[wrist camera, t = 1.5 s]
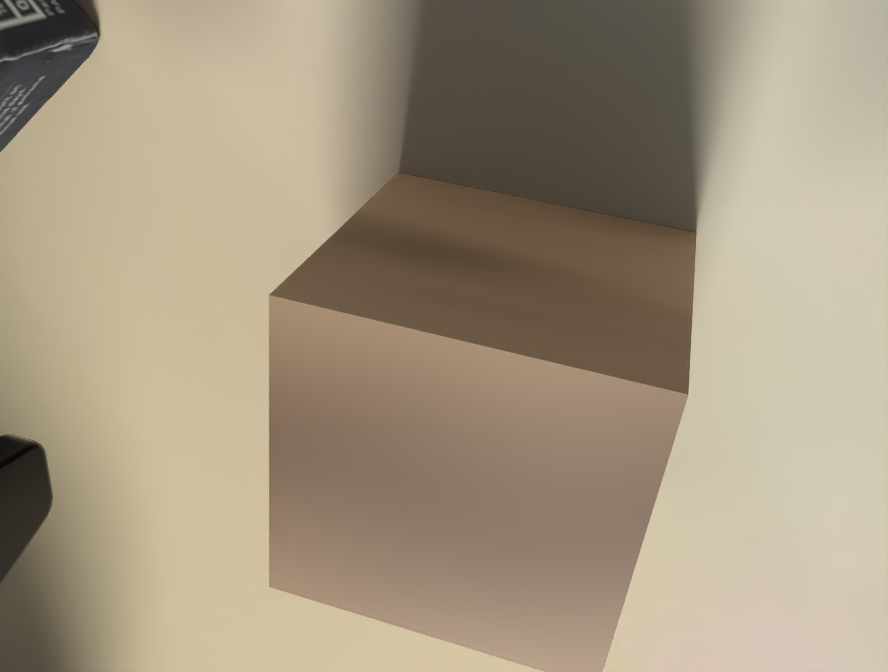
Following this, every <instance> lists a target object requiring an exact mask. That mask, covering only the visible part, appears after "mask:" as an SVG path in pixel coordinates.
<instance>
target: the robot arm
mask: <svg viewBox="0 0 888 672" xmlns="http://www.w3.org/2000/svg"><path fill="white" fill-rule="evenodd" d="M52 499H53V493H52V487H51V481H50V475H49V469H48V463H47V458H46V453H45V449H44V448H43V446H42V445H41V444H40V443H38V442H37V441H33V440H30V439H26V438H23V437H19V436H16V435H2V436H0V586H1V584H2V583H3V581H4V580H5V578H6V577H7V575H8V574H9V572H10V571H11V569H12V568H13V566H14V565H15V563H16V562H17V560H18V559H19V557H20V556H21V554H22V553H23V552H24V550H25V549H26V547H27V546H28V544H29V543H30V541H31V540H32V538H33V537H34V535H35V534H36V532H37V531H38V529H39V528H40V526H41V525H42V523H43V522H44V520H45V519H46V517H47V515H48V513H49V511H50V509H51V505H52Z"/></svg>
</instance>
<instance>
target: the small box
mask: <svg viewBox="0 0 888 672" xmlns="http://www.w3.org/2000/svg"><path fill="white" fill-rule="evenodd" d="M97 43H98V32H97V30H96V29H95V27H94V25H93V24H92V22H91V21H90V20H89V19H88V17H87V16H86V15H85V14H84V13H83V11H82V10H81V9H80V8H79V7H78V5H77V4H76V3H75V1H74V0H0V152H1V151H2V150H3V149H4V148H5V147H6V146H7V144H8V143H9V142H10V141H11V140H12V139H13V138H14V137H15V136H16V134H17V133H18V132H19V131H20V130H21V129H22V128H23V127H24V126H25V125H26V123H27V122H28V121H29V120H30V119H31V118H32V117H33V116H34V115H35V114H36V112H37V111H38V110H39V109H40V108H41V107H42V106H43V105H44V104H45V103H46V102H47V101H48V100H49V99H50V98H51V97H52V96H53V95H54V94H55V93H56V92H57V91H58V90H59V88H60V87H61V86H62V85H63V84H64V83H65V82H66V81H67V80H68V79H69V78H70V76H71V75H72V74H73V73H74V72H75V71H76V70H77V69H78V68H79V67H80V66H81V64H82V63H83V62H84V61H85V60H86V59H88V58H89V56H90V55H91V53H92V52H93V50H94V49H95V47H96V45H97Z"/></svg>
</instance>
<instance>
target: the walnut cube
mask: <svg viewBox="0 0 888 672" xmlns="http://www.w3.org/2000/svg"><path fill="white" fill-rule="evenodd" d="M695 250H696V232H691V231H686V230H681V229H676V228H671V227H666V226H661V225H656V224H651V223H646V222H641V221H636V220H631V219H626V218H621V217H616V216H611V215H606V214H601V213H597V212H592V211H587V210H582V209H577V208H572V207H567V206H562V205H557V204H552V203H547V202H542V201H537V200H532V199H527V198H522V197H517V196H512V195H507V194H502V193H497V192H492V191H487V190H482V189H477V188H472V187H467V186H462V185H457V184H452V183H447V182H442V181H437V180H432V179H427V178H422V177H417V176H412V175H407V174H403V173H398V174H397V175H396V176H395V177H393V178H392V179H391V180H390V181H389V182H388V183H387V184H386V185H385V186H384V187H383V188H382V189H381V190H380V191H379V192H378V193H377V194H376V195H374V196H373V197H372V198H371V199H370V200H369V201H368V202H367V203H366V204H365V205H364V206H363V207H362V208H361V209H360V210H359V211H358V212H357V213H355V214H354V215H353V216H352V217H351V218H350V219H349V220H348V221H347V222H346V223H345V224H344V225H343V226H342V227H341V228H340V229H339V230H338V231H336V232H335V233H334V234H333V235H332V236H331V237H330V238H329V239H328V240H327V241H326V242H325V243H324V244H323V245H322V246H321V247H320V248H318V249H317V250H316V251H315V252H314V253H313V254H312V255H311V256H310V257H309V258H308V259H307V260H306V261H305V262H304V263H303V264H302V265H301V266H299V267H298V268H297V269H296V270H295V271H294V272H293V273H292V274H291V275H290V276H289V277H288V278H287V279H286V280H285V281H284V282H283V283H282V284H280V285H279V286H278V287H277V288H276V289H275V290H274V291H273V292H272V293H271V294H270V295H269V587H272V588H275V589H278V590H281V591H285V592H288V593H291V594H294V595H298V596H301V597H304V598H307V599H311V600H314V601H317V602H320V603H324V604H327V605H330V606H333V607H337V608H340V609H343V610H346V611H350V612H353V613H356V614H359V615H363V616H366V617H369V618H373V619H376V620H379V621H382V622H386V623H389V624H392V625H395V626H399V627H402V628H405V629H408V630H412V631H415V632H418V633H421V634H425V635H428V636H431V637H434V638H438V639H441V640H444V641H447V642H451V643H454V644H457V645H460V646H464V647H467V648H470V649H473V650H477V651H480V652H483V653H486V654H490V655H493V656H496V657H499V658H503V659H506V660H509V661H512V662H516V663H519V664H522V665H525V666H529V667H532V668H535V669H538V670H542V671H545V672H603V668H604V665H605V662H606V659H607V656H608V652H609V649H610V646H611V643H612V639H613V636H614V633H615V630H616V626H617V623H618V620H619V617H620V614H621V610H622V607H623V604H624V601H625V597H626V594H627V591H628V588H629V584H630V581H631V578H632V575H633V572H634V568H635V565H636V562H637V559H638V555H639V552H640V549H641V546H642V542H643V539H644V536H645V533H646V530H647V526H648V523H649V520H650V517H651V513H652V510H653V507H654V504H655V500H656V497H657V494H658V491H659V488H660V484H661V481H662V478H663V475H664V471H665V468H666V465H667V462H668V458H669V455H670V452H671V449H672V446H673V442H674V439H675V436H676V433H677V429H678V426H679V423H680V420H681V416H682V413H683V410H684V407H685V404H686V400H687V397H688V390H689V370H690V350H691V330H692V310H693V290H694V270H695Z"/></svg>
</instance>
